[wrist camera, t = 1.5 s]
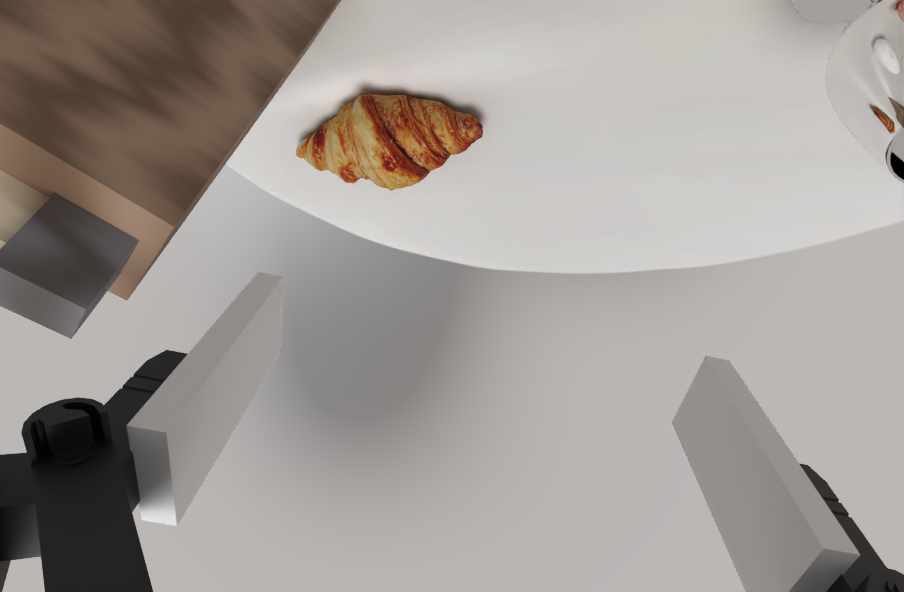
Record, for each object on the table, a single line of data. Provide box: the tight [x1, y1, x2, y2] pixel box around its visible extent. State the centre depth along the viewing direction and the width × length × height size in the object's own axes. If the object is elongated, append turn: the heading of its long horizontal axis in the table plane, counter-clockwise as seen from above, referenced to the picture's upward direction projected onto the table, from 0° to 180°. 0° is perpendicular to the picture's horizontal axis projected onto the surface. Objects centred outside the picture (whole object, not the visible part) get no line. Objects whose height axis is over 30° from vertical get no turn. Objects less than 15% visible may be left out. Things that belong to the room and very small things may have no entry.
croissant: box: [296, 94, 483, 191], centre depth 54 cm, size 21×10×8 cm, turn 109°
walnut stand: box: [0, 0, 341, 300], centre depth 35 cm, size 12×10×30 cm
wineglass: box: [792, 0, 904, 183], centre depth 31 cm, size 8×8×20 cm
